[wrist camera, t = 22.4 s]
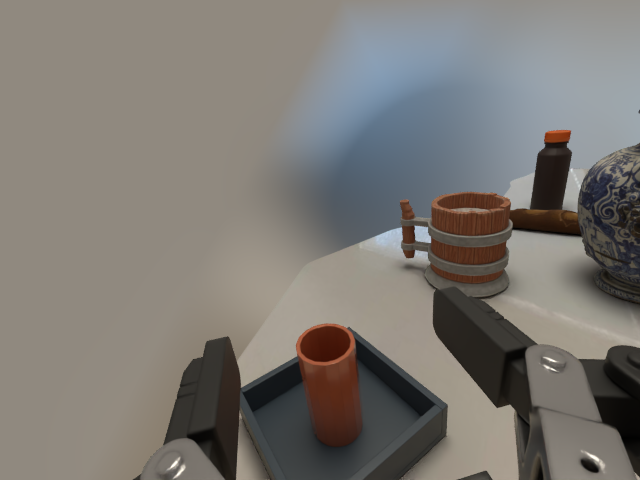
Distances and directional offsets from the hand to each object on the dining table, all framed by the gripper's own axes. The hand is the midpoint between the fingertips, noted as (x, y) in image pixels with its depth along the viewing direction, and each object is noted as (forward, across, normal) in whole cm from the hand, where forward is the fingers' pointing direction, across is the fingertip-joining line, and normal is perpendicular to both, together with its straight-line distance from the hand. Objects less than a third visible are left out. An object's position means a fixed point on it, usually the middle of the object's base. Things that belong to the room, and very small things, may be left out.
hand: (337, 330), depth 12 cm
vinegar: (+56, -69, +24) cm, 92 cm away
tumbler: (+14, -1, +24) cm, 27 cm away
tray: (+14, -1, +24) cm, 28 cm away
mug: (+37, -29, +24) cm, 53 cm away
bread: (+46, -59, +24) cm, 79 cm away
